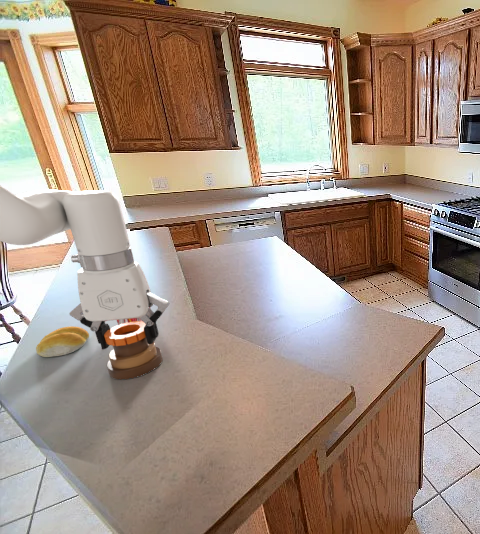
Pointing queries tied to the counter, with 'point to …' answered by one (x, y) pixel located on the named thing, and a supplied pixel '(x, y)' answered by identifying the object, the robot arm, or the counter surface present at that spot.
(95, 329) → the robot arm
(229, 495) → the counter surface
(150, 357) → the stacking tower
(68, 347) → the bread roll
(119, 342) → the orange ring
